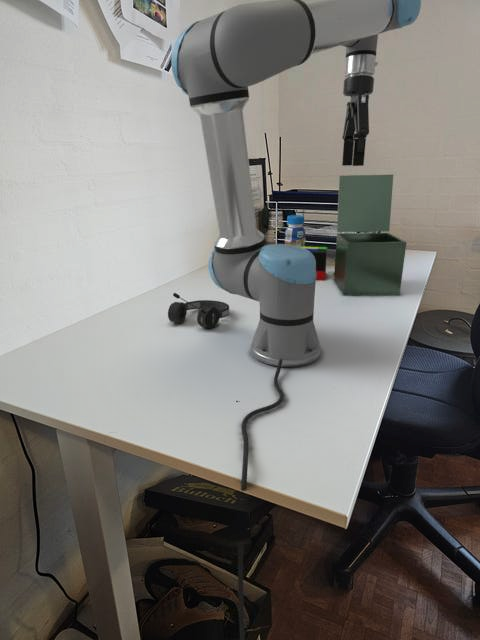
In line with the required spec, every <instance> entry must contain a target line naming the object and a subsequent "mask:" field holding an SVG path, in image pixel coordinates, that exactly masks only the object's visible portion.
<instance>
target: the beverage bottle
mask: <svg viewBox="0 0 480 640" xmlns="http://www.w3.org/2000/svg"><path fill="white" fill-rule="evenodd" d="M286 218H287V219H286V224H287V228H286V229H285V231H284V235H285V237H284V244H285V245H294V246H298V247H306V230H305V228H304V225H305V216H304V215H302V214H292V215H288V216H287V217H286Z"/></svg>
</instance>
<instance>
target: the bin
mask: <svg viewBox="0 0 480 640" xmlns="http://www.w3.org/2000/svg"><path fill="white" fill-rule="evenodd" d="M335 245H336V246H335V256H334V257H335V259H334V274H333V281H334V283H335V284H336V286H337V288H338V289H339V291H340V292H341V294H342V295H343V296H400V294H401V286H402V279H403V272H404V264H405V257H406V250H407V241H405V240H403V239H402V238H399V237H398V236H396V235H393V234H391V232H336V243H335Z"/></svg>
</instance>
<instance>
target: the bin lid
mask: <svg viewBox="0 0 480 640" xmlns="http://www.w3.org/2000/svg"><path fill="white" fill-rule="evenodd" d="M338 177H339V178H338V197H337V198H338V200H337V220H336V221H337V222H336V233H386V232H390V227H391V213H392V200H393V199H392V198H393V186H394V174H352V175H351V174H349V175H347V174H346V175H338Z"/></svg>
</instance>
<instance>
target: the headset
mask: <svg viewBox="0 0 480 640" xmlns="http://www.w3.org/2000/svg"><path fill="white" fill-rule="evenodd" d="M172 296H173V297H174V298H176V299H180V300H182V301H183V302H182V301H181V302H179V301H174V302H172V303H170V305H169V307H168V310H167V318H168V320H169V321H170V322H171V323H177V324H181V323H184V322H185V320H186V317H187V314H188V313H187V312H188V311H191V310H192V311H193V310H199V311H198V313H197V316H196V322H197V324H198V325H199V326H200V327H201V328H208V329H213V328H214V327H216V326H217V325H218V324H219V322H220V319H225V318H227V317H228V316H229V315H230V305H229V304H228V303H227V302H224V301H220V300H212V299H210V300H209V299H202V300H200V299H198V300H191V301H187V300H186V299H184V298H182V297H181V296H180V294H178V293H176V292H174V293H173V294H172Z"/></svg>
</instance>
